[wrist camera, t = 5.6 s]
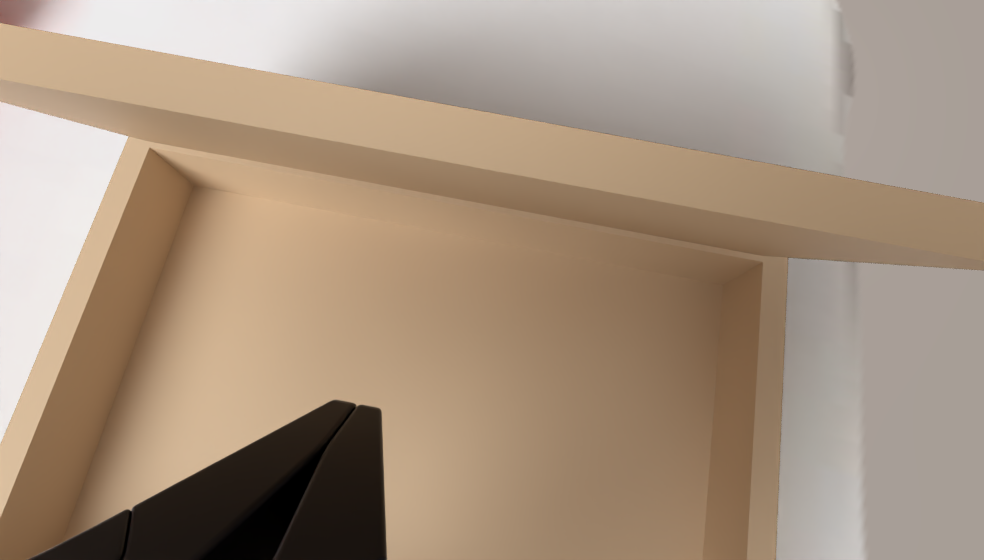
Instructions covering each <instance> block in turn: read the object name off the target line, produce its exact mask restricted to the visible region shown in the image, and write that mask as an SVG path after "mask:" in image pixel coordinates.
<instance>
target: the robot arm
mask: <svg viewBox="0 0 984 560" xmlns="http://www.w3.org/2000/svg"><path fill="white" fill-rule="evenodd" d="M27 560H387V543H386V516H385V488H384V460H383V433H382V411H381V409H380V408H377V407H372V406H367V405H358V406H357V405H356V404H355V403H352V402H347V401H342V400H332V401H329V402H327V403H326V404H324V405H322V406H320V407H318V408H316V409H314V410H312V411H311V412H309V413H307V414H305V415H303V416H301V417H299V418H298V419H296V420H294V421H292V422H290V423H288V424H286V425H284V426H283V427H281V428H279V429H277V430H275V431H273V432H271V433H269V434H268V435H266V436H264V437H262V438H260V439H258V440H256V441H254V442H253V443H251V444H249V445H247V446H245V447H243V448H241V449H239V450H238V451H236V452H234V453H232V454H230V455H228V456H226V457H225V458H223V459H221V460H219V461H217V462H215V463H213V464H211V465H210V466H208V467H206V468H204V469H202V470H200V471H198V472H196V473H195V474H193V475H191V476H189V477H187V478H185V479H183V480H181V481H180V482H178V483H176V484H174V485H172V486H170V487H168V488H167V489H165V490H163V491H161V492H159V493H157V494H155V495H153V496H152V497H150V498H148V499H146V500H144V501H142V502H140V503H138V504H137V505H135V506H133V508H132V510H129V509H126V510H124V511H122V512H120V513H118V514H116V515H114V516H112V517H110V518H109V519H107V520H105V521H103V522H101V523H99V524H97V525H95V526H93V527H91V528H89V529H87V530H85V531H84V532H82V533H80V534H78V535H76V536H74V537H72V538H70V539H68V540H66V541H64V542H62V543H60V544H58V545H56V546H54V547H52V548H50V549H48V550H46V551H44V552H42V553H40V554H38V555H35V556H33V557H31V558H29V559H27Z"/></svg>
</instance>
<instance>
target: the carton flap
mask: <svg viewBox="0 0 984 560" xmlns="http://www.w3.org/2000/svg"><path fill="white" fill-rule="evenodd" d="M0 102H4V103H7V104H11V105H15V106H19V107H22V108H26V109H30V110H33V111H37V112H41V113H45V114H48V115H52V116H56V117H59V118H63V119H67V120H71V121H74V122H78V123H82V124H85V125H89V126H93V127H96V128H100V129H104V130H108V131H111V132H115V133H119V134H122V135H126V136H130V137H134V138H137V139H141V140H145V141H149V142H154V143H160V144H165V145H171V146H176V147H181V148H187V149H192V150H197V151H203V152H208V153H213V154H219V155H224V156H230V157H235V158H240V159H246V160H251V161H256V162H262V163H267V164H272V165H278V166H283V167H288V168H294V169H299V170H305V171H310V172H315V173H321V174H326V175H331V176H337V177H342V178H347V179H353V180H358V181H364V182H369V183H374V184H380V185H385V186H390V187H396V188H401V189H406V190H412V191H417V192H422V193H428V194H433V195H439V196H444V197H449V198H455V199H460V200H465V201H471V202H476V203H481V204H487V205H492V206H498V207H503V208H508V209H514V210H519V211H524V212H530V213H535V214H540V215H546V216H551V217H556V218H562V219H567V220H573V221H578V222H583V223H589V224H594V225H599V226H605V227H610V228H615V229H621V230H626V231H632V232H637V233H642V234H648V235H653V236H658V237H664V238H669V239H674V240H680V241H685V242H691V243H696V244H701V245H707V246H712V247H717V248H723V249H728V250H733V251H739V252H744V253H749V254H755V255H760V256H771V257H787V258H802V259H817V260H832V261H847V262H863V263H878V264H894V265H908V266H923V267H939V268H954V269H969V270H970V269H971V270H984V203H982V202H976V201H971V200H966V199H960V198H955V197H949V196H944V195H938V194H933V193H928V192H922V191H917V190H911V189H906V188H900V187H895V186H889V185H884V184H878V183H872V182H867V181H862V180H856V179H851V178H845V177H840V176H835V175H829V174H824V173H818V172H813V171H807V170H802V169H796V168H791V167H785V166H780V165H774V164H769V163H763V162H758V161H752V160H747V159H742V158H736V157H731V156H725V155H720V154H714V153H709V152H703V151H698V150H692V149H687V148H681V147H676V146H670V145H665V144H659V143H654V142H649V141H643V140H638V139H632V138H627V137H621V136H616V135H610V134H605V133H599V132H594V131H588V130H583V129H577V128H572V127H566V126H561V125H556V124H550V123H545V122H539V121H534V120H528V119H523V118H517V117H512V116H506V115H501V114H495V113H490V112H484V111H479V110H473V109H468V108H463V107H457V106H452V105H446V104H441V103H435V102H430V101H424V100H419V99H413V98H408V97H402V96H397V95H391V94H386V93H381V92H375V91H370V90H364V89H359V88H353V87H348V86H342V85H337V84H331V83H326V82H320V81H315V80H309V79H304V78H298V77H293V76H288V75H282V74H277V73H271V72H266V71H260V70H255V69H249V68H244V67H238V66H233V65H227V64H222V63H216V62H211V61H205V60H200V59H195V58H189V57H184V56H178V55H173V54H167V53H162V52H156V51H151V50H145V49H140V48H134V47H129V46H123V45H118V44H112V43H107V42H102V41H96V40H91V39H85V38H80V37H74V36H69V35H63V34H58V33H52V32H47V31H41V30H36V29H30V28H25V27H19V26H14V25H9V24H3V23H0Z"/></svg>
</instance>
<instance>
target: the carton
mask: <svg viewBox="0 0 984 560" xmlns="http://www.w3.org/2000/svg"><path fill="white" fill-rule="evenodd" d="M787 274H788V258H787V257H771V256H760V255H755V254H749V253H744V252H739V251H733V250H728V249H723V248H717V247H712V246H707V245H701V244H696V243H691V242H685V241H680V240H674V239H669V238H664V237H658V236H653V235H648V234H642V233H637V232H632V231H626V230H621V229H615V228H610V227H605V226H599V225H594V224H589V223H583V222H578V221H573V220H567V219H562V218H556V217H551V216H546V215H540V214H535V213H530V212H524V211H519V210H514V209H508V208H503V207H498V206H492V205H487V204H481V203H476V202H471V201H465V200H460V199H455V198H449V197H444V196H439V195H433V194H428V193H422V192H417V191H412V190H406V189H401V188H396V187H390V186H385V185H380V184H374V183H369V182H364V181H358V180H353V179H347V178H342V177H337V176H331V175H326V174H321V173H315V172H310V171H305V170H299V169H294V168H288V167H283V166H278V165H272V164H267V163H262V162H256V161H251V160H246V159H240V158H235V157H230V156H224V155H219V154H213V153H208V152H203V151H197V150H192V149H187V148H181V147H176V146H171V145H165V144H160V143H154V142H149V141H145V140H141V139H137V138H134V137H130V136H129V137H128V139H127V142H126V144H125V146H124V149H123V151H122V154H121V156H120V158H119V161H118V163H117V166H116V168H115V170H114V173H113V175H112V178H111V180H110V182H109V185H108V187H107V190H106V192H105V194H104V197H103V199H102V202H101V204H100V206H99V209H98V211H97V214H96V216H95V218H94V221H93V223H92V226H91V228H90V230H89V233H88V235H87V238H86V240H85V243H84V245H83V247H82V250H81V252H80V255H79V257H78V259H77V262H76V264H75V267H74V269H73V271H72V274H71V276H70V279H69V281H68V283H67V286H66V288H65V291H64V293H63V295H62V298H61V300H60V303H59V305H58V307H57V310H56V312H55V315H54V317H53V319H52V322H51V324H50V327H49V329H48V331H47V334H46V336H45V339H44V341H43V343H42V346H41V348H40V351H39V353H38V355H37V358H36V360H35V363H34V365H33V367H32V370H31V372H30V375H29V377H28V379H27V382H26V384H25V387H24V389H23V391H22V394H21V396H20V399H19V401H18V403H17V406H16V408H15V411H14V413H13V415H12V418H11V420H10V423H9V425H8V427H7V430H6V432H5V435H4V437H3V439H2V442H1V444H0V560H27V559H29V558H31V557H33V556H35V555H38V554H40V553H42V552H44V551H46V550H48V549H50V548H52V547H54V546H56V545H58V544H60V543H62V542H64V541H66V540H68V539H70V538H72V537H74V536H76V535H78V534H80V533H82V532H84V531H85V530H87V529H89V528H91V527H93V526H95V525H97V524H99V523H101V522H103V521H105V520H107V519H109V518H110V517H112V516H114V515H116V514H118V513H120V512H122V511H124V510H126V509H129V510H132V508H133V506H135V505H137V504H138V503H140V502H142V501H144V500H146V499H148V498H150V497H152V496H153V495H155V494H157V493H159V492H161V491H163V490H165V489H167V488H168V487H170V486H172V485H174V484H176V483H178V482H180V481H181V480H183V479H185V478H187V477H189V476H191V475H193V474H195V473H196V472H198V471H200V470H202V469H204V468H206V467H208V466H210V465H211V464H213V463H215V462H217V461H219V460H221V459H223V458H225V457H226V456H228V455H230V454H232V453H234V452H236V451H238V450H239V449H241V448H243V447H245V446H247V445H249V444H251V443H253V442H254V441H256V440H258V439H260V438H262V437H264V436H266V435H268V434H269V433H271V432H273V431H275V430H277V429H279V428H281V427H283V426H284V425H286V424H288V423H290V422H292V421H294V420H296V419H298V418H299V417H301V416H303V415H305V414H307V413H309V412H311V411H312V410H314V409H316V408H318V407H320V406H322V405H324V404H326V403H327V402H329V401H332V400H342V401H347V402H352V403H355V404H356V405H357V406H358V405H367V406H372V407H377V408H380V409H381V411H382V433H383V460H384V488H385V516H386V543H387V560H776V538H777V514H778V490H779V466H780V442H781V418H782V394H783V370H784V346H785V322H786V298H787Z"/></svg>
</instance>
